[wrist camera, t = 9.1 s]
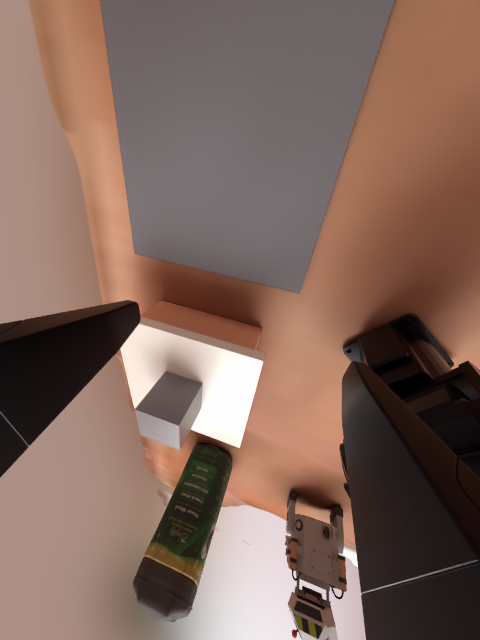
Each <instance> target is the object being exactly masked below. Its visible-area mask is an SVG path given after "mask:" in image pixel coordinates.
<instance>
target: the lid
mask: <svg viewBox="0 0 480 640" xmlns="http://www.w3.org/2000/svg"><path fill="white" fill-rule="evenodd" d="M140 317H141V316H140ZM120 349H121V353H122V357H123V362H124V366H125V370H126V375H127V379H128V383H129V387H130V392H131V396H132V400H133V405H134V408H135V413H136V417H137V422H138V426H139V430H140V435H142V436H144V437H147V438H149V439H152V440H154V441H157V442H159V443H162V444H164V445H167V446H169V447H172V448H174V449H177V450H179V451H180V450H181V448H182V446H183V444H184V442H185V440H186V438H187V436H188V434H189V432H190V430H193V431H196V432H198V433H201V434H204V435H206V436H209V437H212V438H214V439H217V440H220V441H222V442H225V443H228V444H230V445H233V446H236V447H238V448H240V445H241V441H242V438H243V434H244V430H245V427H246V423H247V419H248V416H249V412H250V408H251V405H252V401H253V397H254V394H255V390H256V387H257V383H258V379H259V376H260V372H261V368H262V365H263V361H264V357H265V354H266V353H263V352H259V351H256V350H253V349H249V348H246V347H242V346H239V345H236V344H232V343H229V342H226V341H222V340H219V339H215V338H212V337H209V336H205V335H202V334H198V333H195V332H192V331H188V330H185V329H181V328H178V327H175V326H171V325H168V324H165V323H161V322H158V321H154V320H151V319H148V318H144V317H141V320H140V323H139V325H138V326H137V327H136V329H135V330H134V331H133V332H132V334H131V335H130V336H129V338H128V339H127V340H126V342H125V343H124V344H123V346H122V347H121V348H120Z"/></svg>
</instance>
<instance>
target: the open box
mask: <svg viewBox="0 0 480 640" xmlns="http://www.w3.org/2000/svg"><path fill="white" fill-rule="evenodd" d="M141 317H144V318H148V319H151V320H154V321H158V322H161V323H165V324H168V325H171V326H175V327H178V328H181V329H185V330H188V331H192V332H195V333H198V334H202V335H205V336H209V337H212V338H215V339H219V340H222V341H226V342H229V343H232V344H236V345H239V346H242V347H246V348H249V349H253V350H256V351H257V347H258V343H259V339H260V335H261V331H262V328H260V327H256V326H252V325H249V324H245V323H242V322H238V321H234V320H231V319H227V318H224V317H220V316H216V315H213V314H209V313H206V312H202V311H198V310H195V309H191V308H188V307H184V306H180V305H177V304H173V303H170V302H166V301H162V300H161V301H160V302H159V303H157V304H156V305H154V306H153V307H152V308H150V309H149V310H148V311H146V312H145V313H143V314H142V315H141Z"/></svg>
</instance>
